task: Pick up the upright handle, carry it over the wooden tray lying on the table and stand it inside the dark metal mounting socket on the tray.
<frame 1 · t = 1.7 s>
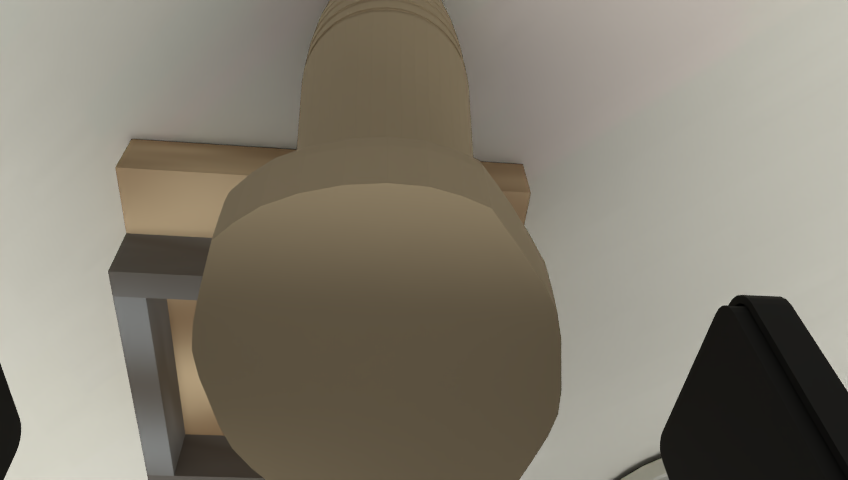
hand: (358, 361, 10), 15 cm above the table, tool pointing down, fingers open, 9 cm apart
wooden tray: (327, 309, 29), on the table
handle: (386, 5, 22), on the table
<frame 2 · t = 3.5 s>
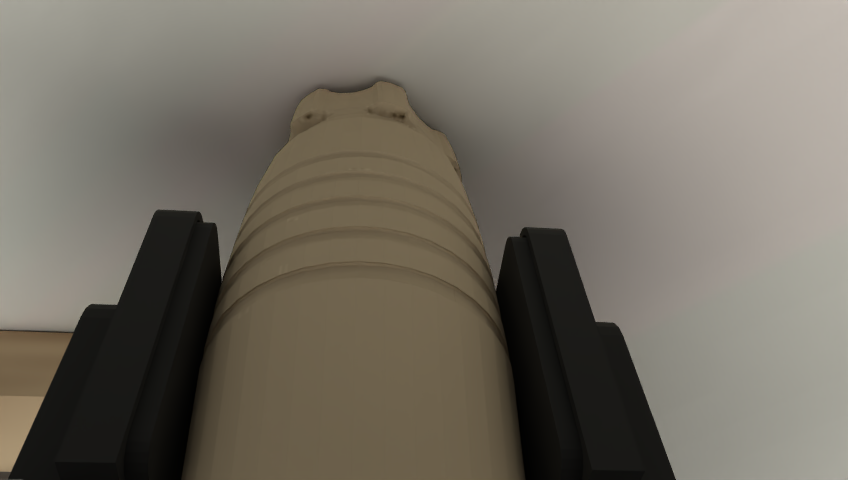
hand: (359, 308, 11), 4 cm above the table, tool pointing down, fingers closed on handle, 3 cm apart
handle: (364, 146, 14), on the table, touching gripper
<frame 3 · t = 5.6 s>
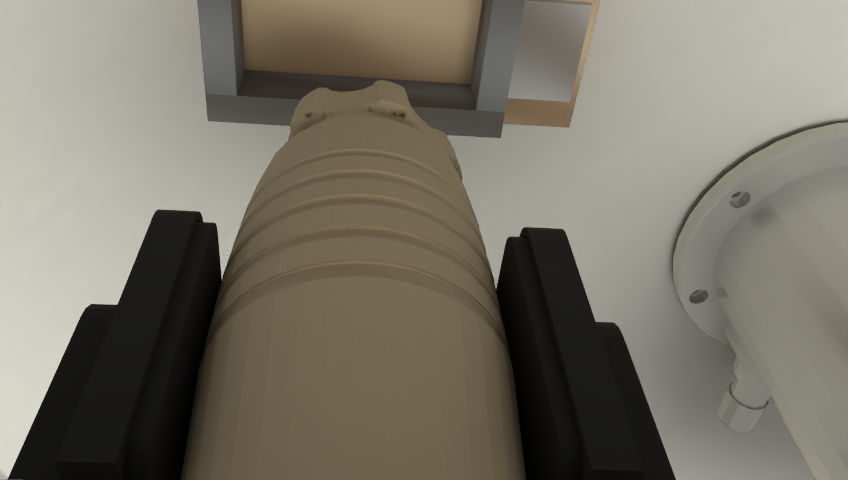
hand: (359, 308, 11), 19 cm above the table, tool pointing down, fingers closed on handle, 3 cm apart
handle: (364, 145, 14), point 14 cm above the table, touching gripper
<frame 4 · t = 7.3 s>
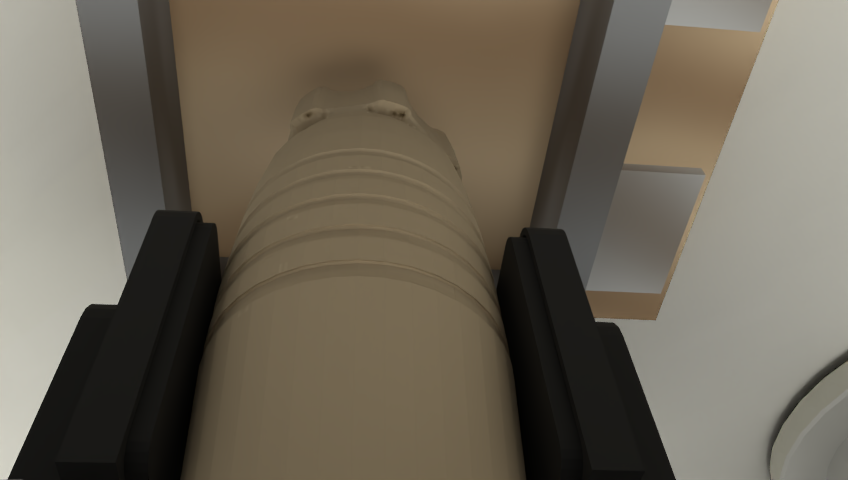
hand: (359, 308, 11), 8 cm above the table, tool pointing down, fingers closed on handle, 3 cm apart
wooden tray: (441, 26, 17), on the table
handle: (364, 144, 14), point 4 cm above the table, touching gripper
when the fingers open (7 cm above the table, at t = 7.9 s): handle stays where it is, resting on wooden tray.
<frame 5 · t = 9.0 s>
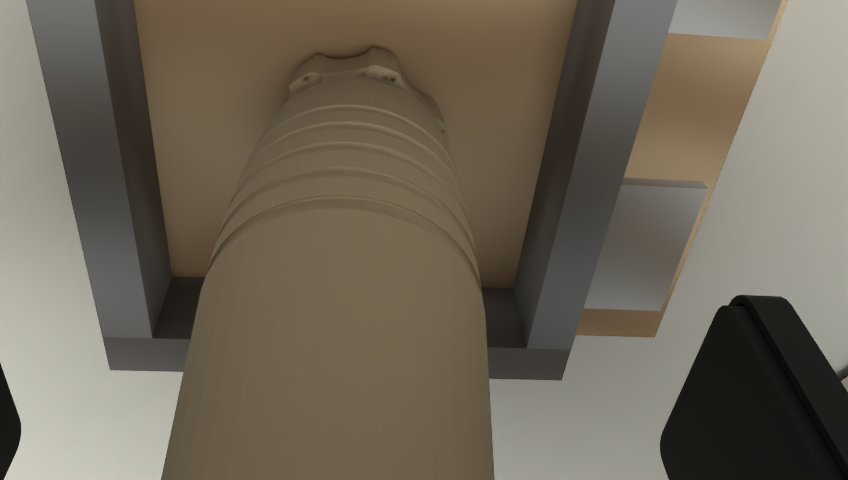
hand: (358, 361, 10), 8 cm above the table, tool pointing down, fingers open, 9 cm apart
wooden tray: (428, 33, 16), on the table
handle: (359, 111, 15), point 2 cm above the table, touching wooden tray
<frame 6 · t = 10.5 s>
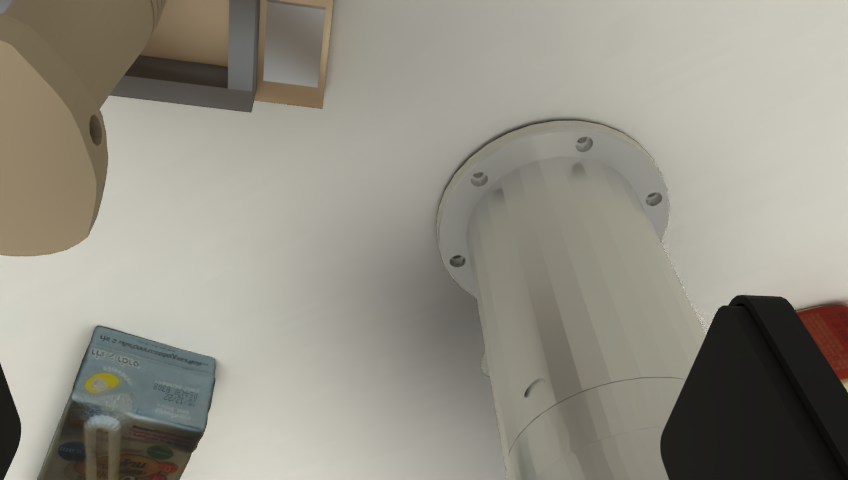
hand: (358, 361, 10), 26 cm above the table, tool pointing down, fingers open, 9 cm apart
beverage carton: (122, 424, 51), on the table
snack package: (794, 400, 54), on the table
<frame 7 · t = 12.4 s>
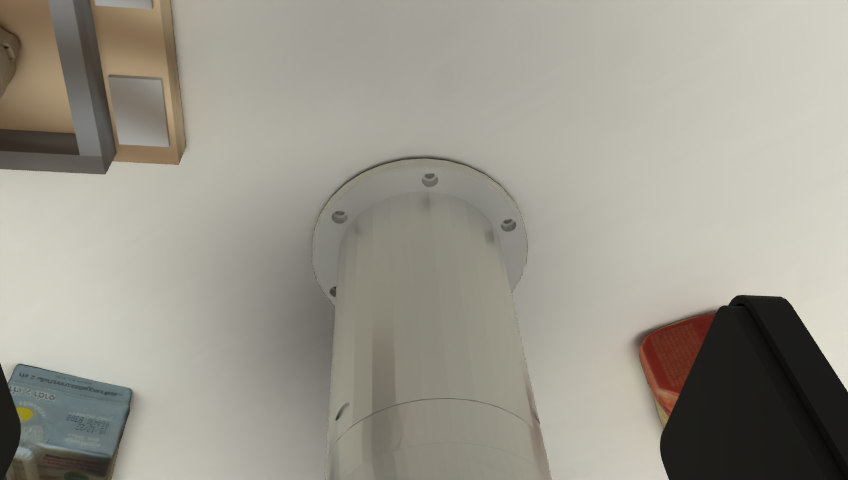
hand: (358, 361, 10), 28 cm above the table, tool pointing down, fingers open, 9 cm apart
beverage carton: (61, 452, 55), on the table
wooden tray: (28, 8, 35), on the table
snack package: (703, 405, 56), on the table
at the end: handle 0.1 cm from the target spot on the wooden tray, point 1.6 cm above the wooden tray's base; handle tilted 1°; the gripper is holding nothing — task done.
